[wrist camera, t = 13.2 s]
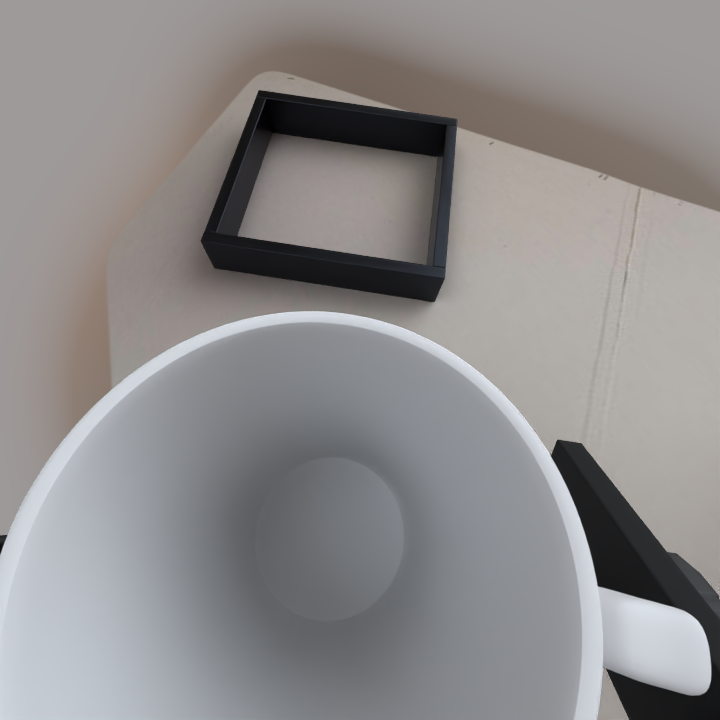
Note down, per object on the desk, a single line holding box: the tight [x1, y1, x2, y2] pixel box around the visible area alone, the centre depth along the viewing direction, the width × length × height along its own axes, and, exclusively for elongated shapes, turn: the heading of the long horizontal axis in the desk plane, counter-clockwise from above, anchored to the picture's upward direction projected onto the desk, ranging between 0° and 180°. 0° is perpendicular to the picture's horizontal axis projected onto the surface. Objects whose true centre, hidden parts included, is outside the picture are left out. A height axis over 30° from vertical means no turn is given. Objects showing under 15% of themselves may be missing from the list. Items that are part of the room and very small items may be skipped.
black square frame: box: [201, 90, 457, 302], centre depth 35 cm, size 19×18×4 cm
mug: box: [0, 311, 711, 720], centre depth 10 cm, size 10×7×12 cm, turn 77°
